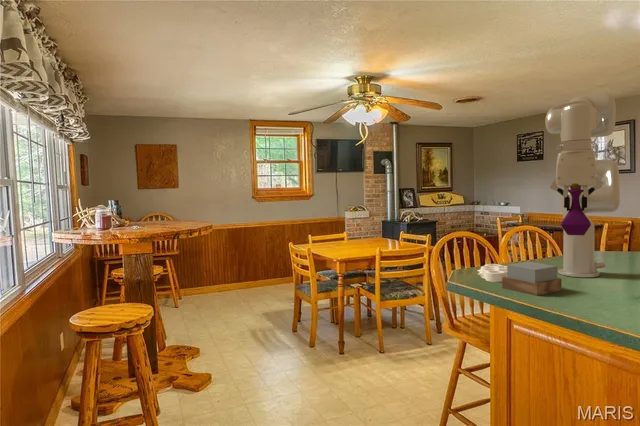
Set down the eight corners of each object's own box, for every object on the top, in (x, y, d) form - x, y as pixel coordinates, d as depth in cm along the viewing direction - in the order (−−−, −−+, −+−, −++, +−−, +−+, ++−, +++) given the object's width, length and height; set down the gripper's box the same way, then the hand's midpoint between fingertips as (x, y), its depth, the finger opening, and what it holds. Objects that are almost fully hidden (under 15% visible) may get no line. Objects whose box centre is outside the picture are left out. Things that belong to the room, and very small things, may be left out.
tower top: (528, 273, 143) (528, 261, 143) (557, 279, 134) (557, 266, 134) (507, 277, 139) (507, 264, 138) (535, 283, 130) (535, 269, 129)
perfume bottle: (591, 236, 124) (590, 172, 122) (560, 235, 127) (560, 173, 126) (590, 233, 130) (590, 172, 129) (561, 232, 134) (561, 173, 133)
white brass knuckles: (523, 284, 145) (477, 282, 150) (518, 273, 162) (476, 272, 167) (523, 274, 145) (477, 272, 150) (518, 264, 162) (476, 263, 167)
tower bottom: (526, 284, 145) (526, 272, 145) (561, 291, 135) (561, 278, 134) (502, 289, 139) (502, 277, 139) (537, 297, 129) (537, 284, 128)
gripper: (543, 149, 128) (543, 211, 129) (610, 144, 120) (609, 211, 121) (545, 150, 134) (545, 209, 136) (609, 146, 126) (608, 209, 127)
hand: (575, 209), depth 128 cm, fingers closed on perfume bottle, 3 cm apart
